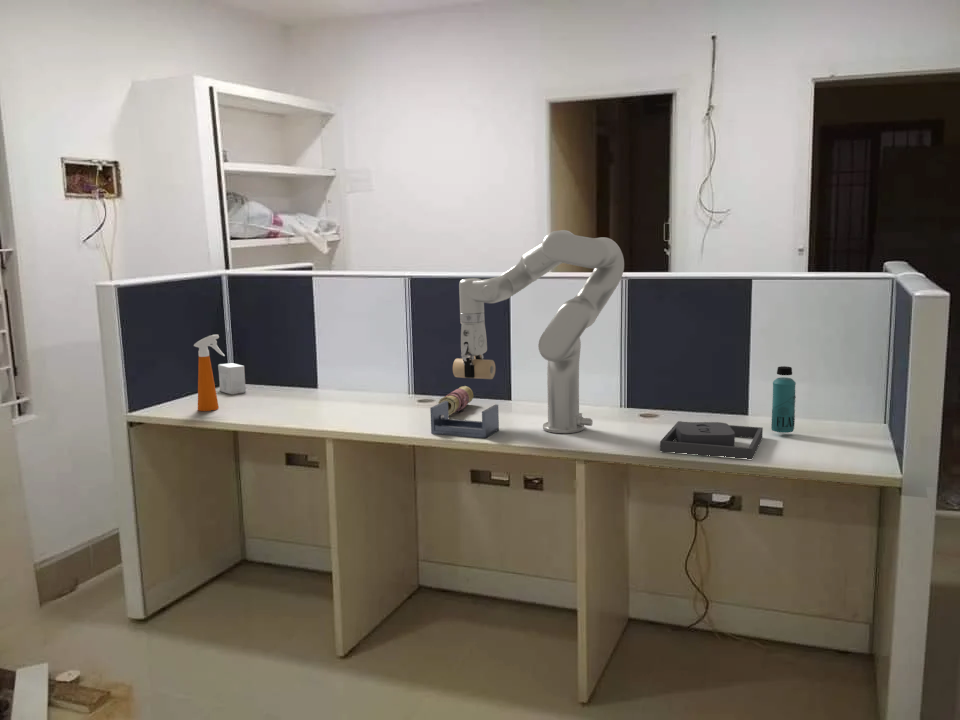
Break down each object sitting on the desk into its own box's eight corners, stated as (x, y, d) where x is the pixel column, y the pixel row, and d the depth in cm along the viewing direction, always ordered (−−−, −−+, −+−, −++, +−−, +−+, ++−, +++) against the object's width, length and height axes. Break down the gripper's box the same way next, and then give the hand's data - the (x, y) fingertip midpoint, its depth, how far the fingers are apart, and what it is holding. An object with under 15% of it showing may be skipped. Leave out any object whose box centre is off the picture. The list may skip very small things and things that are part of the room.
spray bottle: (225, 410, 299) (220, 335, 295) (194, 411, 299) (188, 336, 295) (231, 406, 306) (226, 332, 302) (201, 407, 306) (195, 333, 302)
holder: (498, 430, 263) (498, 404, 262) (485, 438, 254) (485, 411, 253) (445, 425, 270) (445, 400, 269) (431, 433, 261) (430, 407, 260)
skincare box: (246, 392, 331) (244, 365, 329) (230, 394, 327) (228, 367, 325) (235, 388, 339) (233, 362, 337) (219, 391, 335) (217, 364, 333)
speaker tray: (762, 437, 247) (762, 427, 246) (751, 460, 225) (752, 449, 225) (677, 431, 257) (678, 421, 256) (660, 452, 235) (660, 441, 235)
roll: (495, 377, 271) (495, 358, 270) (488, 381, 266) (487, 361, 265) (461, 375, 276) (460, 356, 275) (452, 379, 271) (452, 360, 270)
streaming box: (674, 439, 248) (674, 422, 247) (726, 439, 247) (726, 422, 246) (681, 453, 234) (682, 435, 233) (736, 453, 233) (736, 435, 232)
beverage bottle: (773, 437, 246) (775, 368, 243) (768, 432, 253) (770, 364, 250) (796, 438, 246) (799, 368, 242) (791, 432, 252) (794, 364, 249)
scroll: (461, 414, 279) (481, 401, 298) (452, 393, 279) (472, 381, 298) (442, 422, 282) (462, 409, 301) (432, 401, 282) (453, 389, 300)
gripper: (471, 322, 258) (473, 381, 261) (494, 315, 274) (496, 371, 277) (449, 321, 262) (451, 380, 265) (473, 315, 277) (475, 370, 280)
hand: (474, 375), depth 271 cm, fingers closed on roll, 6 cm apart
